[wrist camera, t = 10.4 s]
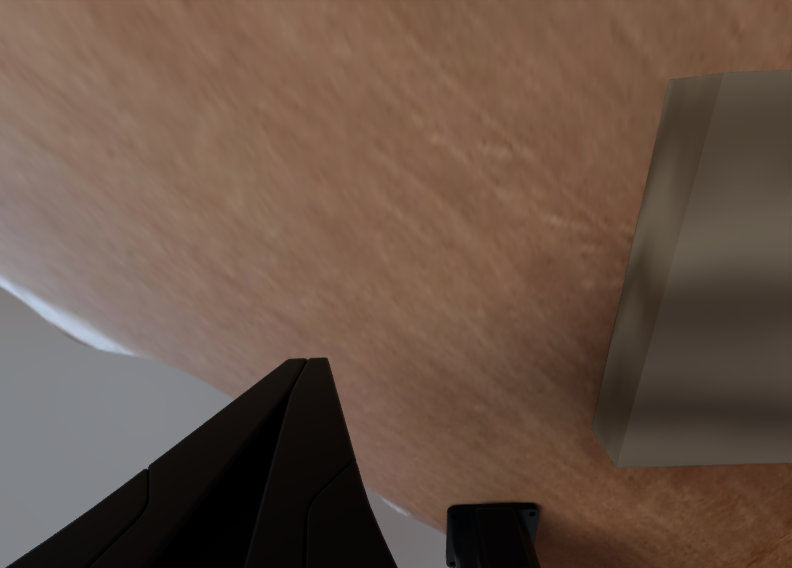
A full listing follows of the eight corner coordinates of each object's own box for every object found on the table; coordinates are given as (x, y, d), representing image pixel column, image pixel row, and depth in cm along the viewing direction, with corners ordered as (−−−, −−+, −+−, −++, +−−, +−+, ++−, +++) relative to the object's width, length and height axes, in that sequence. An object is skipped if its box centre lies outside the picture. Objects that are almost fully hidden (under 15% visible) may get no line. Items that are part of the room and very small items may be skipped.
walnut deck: (810, 421, 25) (862, 460, 22) (591, 428, 25) (615, 468, 22) (997, 65, 16) (1117, 56, 14) (669, 79, 17) (723, 72, 14)
